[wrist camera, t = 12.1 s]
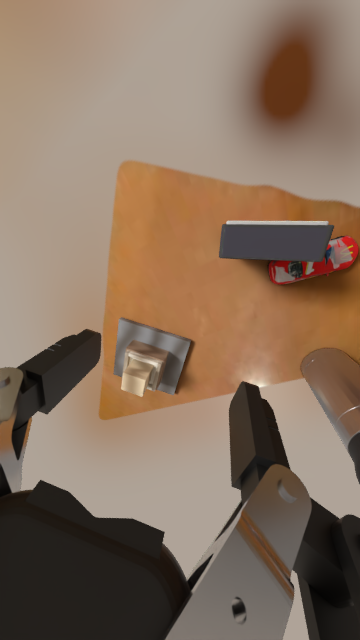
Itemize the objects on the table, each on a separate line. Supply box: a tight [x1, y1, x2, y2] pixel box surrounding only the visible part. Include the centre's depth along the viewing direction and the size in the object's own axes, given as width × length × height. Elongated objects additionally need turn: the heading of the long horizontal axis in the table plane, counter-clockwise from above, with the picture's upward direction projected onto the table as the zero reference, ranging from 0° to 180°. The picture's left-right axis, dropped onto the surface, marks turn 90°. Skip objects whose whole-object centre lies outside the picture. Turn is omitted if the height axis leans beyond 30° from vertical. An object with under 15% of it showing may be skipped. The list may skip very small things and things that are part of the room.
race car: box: [268, 236, 358, 284], centre depth 31 cm, size 13×5×4 cm, turn 108°
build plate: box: [114, 317, 191, 395], centre depth 46 cm, size 18×18×6 cm
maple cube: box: [121, 359, 154, 397], centre depth 42 cm, size 5×5×5 cm
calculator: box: [219, 221, 334, 262], centre depth 26 cm, size 11×4×15 cm, turn 89°
